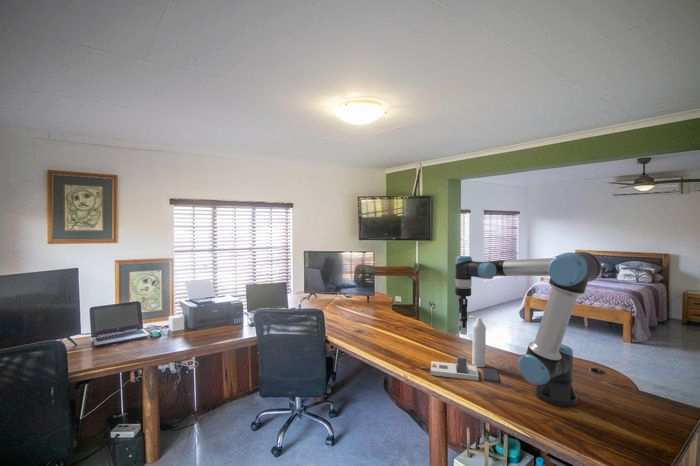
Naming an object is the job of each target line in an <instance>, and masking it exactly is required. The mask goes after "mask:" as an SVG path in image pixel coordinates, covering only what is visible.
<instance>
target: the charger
mask: <svg viewBox="0 0 700 466" xmlns="http://www.w3.org/2000/svg"><path fill="white" fill-rule="evenodd" d="M456 361H457V362H456V364H457V373H464V374H466V365H467V356H466V355H460V354H459V355H458V354H457V359H456Z"/></svg>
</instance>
